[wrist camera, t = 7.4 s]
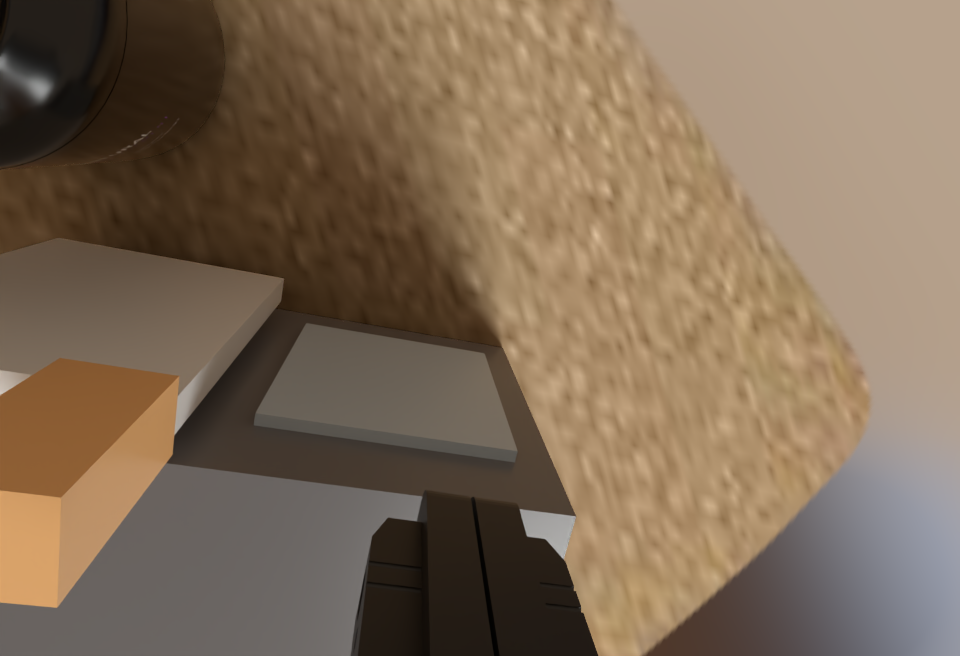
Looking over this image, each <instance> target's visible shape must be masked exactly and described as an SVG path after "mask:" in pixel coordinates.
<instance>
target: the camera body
mask: <svg viewBox="0 0 960 656" xmlns="http://www.w3.org/2000/svg"><path fill="white" fill-rule="evenodd" d="M425 490H430V491H437V492H444V493H450V494H457V495H464V496H470V498H472V497H479V498H486V499H493V500H499V501H506V502H513V503H517V504H518V506H519V509H520V513H521V517H522V520H523V524H524V528H525V531H526V535H527V537H535V538H542V539H546V540H547V541H548V542H549V544H550V545H551V546H552V547H553V548H554V549H555V550H556V552H557V553H558V554H559V555H560V556H561V557H562V558H563V560H564V556H565V553H566V549H567V546H568V543H569V539H570V536H571V532H572V529H573V525H574V522H575V518H576V515H575V513H574V511H573V508H572V506H571V504H570V501H569V499H568V497H567V495H566V492H565V490H564V488H563V485H562V483H561V481H560V478H559V476H558V474H557V472H556V469H555V467H554V465H553V462H552V460H551V458H550V455H549V453H548V451H547V449H546V446H545V444H544V442H543V439H542V437H541V435H540V432H539V430H538V428H537V426H536V423H535V421H534V419H533V416H532V414H531V412H530V409H529V407H528V405H527V403H526V400H525V398H524V396H523V393H522V391H521V389H520V386H519V384H518V382H517V380H516V377H515V375H514V373H513V370H512V368H511V366H510V364H509V361H508V359H507V357H506V354H505V352H504V350H503V348H502V347H496V346H490V345H484V344H479V343H473V342H467V341H461V340H455V339H449V338H444V337H438V336H432V335H426V334H420V333H415V332H409V331H403V330H397V329H391V328H386V327H380V326H374V325H368V324H362V323H356V322H351V321H345V320H339V319H333V318H327V317H322V316H316V315H310V314H304V313H298V312H293V311H287V310H281V309H274V311H273V312H272V313H271V315H270V316H269V317H268V318H267V320H266V321H265V322H264V323H263V325H262V326H261V327H260V328H259V330H258V331H257V332H256V333H255V335H254V336H253V337H252V338H251V340H250V341H249V342H248V343H247V345H246V346H245V347H244V348H243V350H242V351H241V352H240V353H239V355H238V356H237V357H236V358H235V360H234V361H233V362H232V364H231V365H230V366H229V367H228V369H227V370H226V371H225V372H224V374H223V375H222V376H221V377H220V379H219V380H218V381H217V382H216V384H215V385H214V386H213V387H212V389H211V390H210V391H209V392H208V394H207V395H206V396H205V397H204V399H203V400H202V401H201V402H200V404H199V405H198V406H197V407H196V409H195V410H194V411H193V413H192V414H191V415H190V416H189V418H188V419H187V420H186V421H185V423H184V424H183V425H182V426H181V428H180V429H179V430H178V431H177V433H176V434H175V435H174V444H173V455H172V456H171V457H170V459H169V460H168V461H167V463H166V464H165V465H164V467H163V468H162V469H161V471H160V472H159V473H158V475H157V476H156V477H155V479H154V480H153V481H152V483H151V484H150V485H149V487H148V488H147V489H146V490H145V492H144V493H143V494H142V496H141V497H140V498H139V500H138V501H137V502H136V504H135V505H134V506H133V508H132V509H131V510H130V512H129V513H128V514H127V516H126V517H125V518H124V520H123V521H122V522H121V524H120V525H119V526H118V528H117V529H116V530H115V532H114V533H113V534H112V536H111V537H110V538H109V540H108V541H107V542H106V544H105V545H104V546H103V548H102V549H101V550H100V552H99V553H98V554H97V556H96V557H95V558H94V560H93V561H92V562H91V564H90V565H89V566H88V567H87V569H86V570H85V571H84V573H83V574H82V575H81V577H80V578H79V579H78V581H77V582H76V583H75V585H74V586H73V587H72V589H71V590H70V591H69V593H68V594H67V595H66V597H65V598H64V599H63V601H62V602H61V603H60V605H59V606H58V607H57V608H54V607H43V606H33V605H22V604H11V603H0V656H351V649H352V641H353V633H354V626H355V619H356V614H357V609H358V604H359V599H360V594H361V589H362V584H363V579H364V574H365V569H366V564H367V559H368V554H369V549H370V544H371V539H372V536H373V534H374V533H375V532H376V531H377V530H378V529H379V527H380V526H381V525H382V524H383V523H384V522H385V520H386V519H387V518H388V517H389V518H396V519H403V520H410V521H417V518H418V513H419V509H420V504H421V500H422V497H423V493H424V491H425Z"/></svg>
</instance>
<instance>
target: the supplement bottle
mask: <svg viewBox="0 0 960 656" xmlns="http://www.w3.org/2000/svg"><path fill="white" fill-rule="evenodd" d="M224 67H225V52H224V42H223V37H222V31H221V28H220V24H219V20H218V17H217V15H216V12H215V10H214V7H213V5H212V3H211V1H210V0H0V170H7V169H21V168H36V167H50V166H64V165H78V164H93V163H107V162H120V161H129V160H138V159H144V158H149V157H152V156H156V155H159V154H162V153H164V152H167V151H169V150H171V149H173V148H175V147H177V146H179V145H180V144H182V143H183V142H185V141H186V140H188V139H189V138H190V137H191V136H192V135H193V134H194V133H196V132H197V131H198V129H199V128H200V127H201V126H202V125H203V124H204V122H205V121H206V120H207V118H208V117H209V115H210V113H211V112H212V110H213V108H214V106H215V104H216V101H217V99H218V97H219V93H220V90H221V87H222V82H223V77H224Z"/></svg>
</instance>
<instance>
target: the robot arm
mask: <svg viewBox="0 0 960 656" xmlns="http://www.w3.org/2000/svg"><path fill="white" fill-rule="evenodd" d="M351 656H598V654H597V651H596V648H595V645H594V642H593V639H592V637H591V634H590V631H589V628H588V625H587V622H586V619H585V617H584V614H583V613H581V605H580V602H579V599H578V597H577V594H576V591H574V585H573V582H572V579H571V576H570V574H569V571H568V568H567V565H566V562H565V561H564V560H563V558H562V557H561V556H560V555H559V554H558V553H557V552H556V550H555V549H554V548H553V547H552V546H551V545H550V544H549V542H548V541H547V540H546V539H542V538H535V537H527V535H526V531H525V528H524V524H523V520H522V517H521V513H520V509H519V506H518V504H517V503H513V502H506V501H499V500H493V499H486V498H479V497H472V498H470V496H464V495H457V494H450V493H444V492H437V491H430V490H425V491H424V493H423V497H422V500H421V504H420V509H419V513H418V518H417V521H410V520H403V519H396V518H389V517H388V518H387V519H386V520H385V522H384V523H383V524H382V525H381V526H380V527H379V529H378V530H377V531H376V532H375V533H374V534H373V536H372V539H371V544H370V549H369V554H368V559H367V564H366V569H365V574H364V579H363V584H362V589H361V594H360V599H359V604H358V609H357V614H356V619H355V626H354V633H353V641H352V649H351Z"/></svg>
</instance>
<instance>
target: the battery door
mask: <svg viewBox="0 0 960 656" xmlns="http://www.w3.org/2000/svg"><path fill="white" fill-rule="evenodd" d="M283 283H284V278H279V277H274V276H268V275H263V274H257V273H252V272H246V271H241V270H235V269H229V268H224V267H218V266H213V265H207V264H202V263H196V262H191V261H185V260H179V259H174V258H168V257H163V256H157V255H152V254H146V253H141V252H135V251H129V250H124V249H118V248H113V247H107V246H102V245H96V244H91V243H85V242H79V241H74V240H68V239H63V238H56V239H52V240H49V241H45V242H42V243H38V244H34V245H31V246H27V247H24V248H20V249H17V250H13V251H10V252H6V253H3V254H0V603H11V604H22V605H33V606H43V607H54V608H57V607H58V606H59V605H60V603H61V602H62V601H63V599H64V598H65V597H66V595H67V594H68V593H69V591H70V590H71V589H72V587H73V586H74V585H75V583H76V582H77V581H78V579H79V578H80V577H81V575H82V574H83V573H84V571H85V570H86V569H87V567H88V566H89V565H90V564H91V562H92V561H93V560H94V558H95V557H96V556H97V554H98V553H99V552H100V550H101V549H102V548H103V546H104V545H105V544H106V542H107V541H108V540H109V538H110V537H111V536H112V534H113V533H114V532H115V530H116V529H117V528H118V526H119V525H120V524H121V522H122V521H123V520H124V518H125V517H126V516H127V514H128V513H129V512H130V510H131V509H132V508H133V506H134V505H135V504H136V502H137V501H138V500H139V498H140V497H141V496H142V494H143V493H144V492H145V490H146V489H147V488H148V487H149V485H150V484H151V483H152V481H153V480H154V479H155V477H156V476H157V475H158V473H159V472H160V471H161V469H162V468H163V467H164V465H165V464H166V463H167V461H168V460H169V459H170V457H171V456H172V455H173V444H174V435H175V434H176V433H177V431H178V430H179V429H180V428H181V426H182V425H183V424H184V423H185V421H186V420H187V419H188V418H189V416H190V415H191V414H192V413H193V411H194V410H195V409H196V407H197V406H198V405H199V404H200V402H201V401H202V400H203V399H204V397H205V396H206V395H207V394H208V392H209V391H210V390H211V389H212V387H213V386H214V385H215V384H216V382H217V381H218V380H219V379H220V377H221V376H222V375H223V374H224V372H225V371H226V370H227V369H228V367H229V366H230V365H231V364H232V362H233V361H234V360H235V358H236V357H237V356H238V355H239V353H240V352H241V351H242V350H243V348H244V347H245V346H246V345H247V343H248V342H249V341H250V340H251V338H252V337H253V336H254V335H255V333H256V332H257V331H258V330H259V328H260V327H261V326H262V325H263V323H264V322H265V321H266V320H267V318H268V317H269V316H270V315H271V313H272V312H273V311H274V309H275V308H276V307H277V306H278V304H279V303H280V302H281V299H282V291H283Z"/></svg>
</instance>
